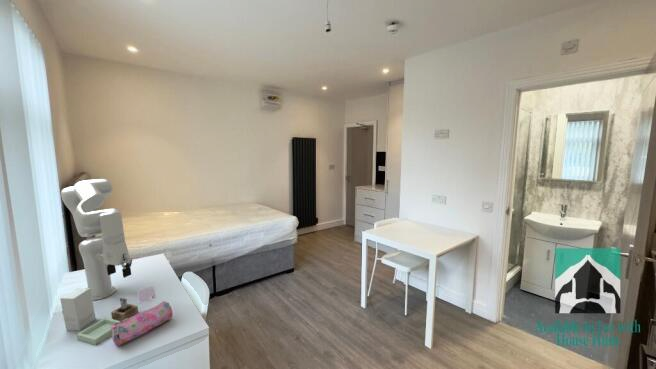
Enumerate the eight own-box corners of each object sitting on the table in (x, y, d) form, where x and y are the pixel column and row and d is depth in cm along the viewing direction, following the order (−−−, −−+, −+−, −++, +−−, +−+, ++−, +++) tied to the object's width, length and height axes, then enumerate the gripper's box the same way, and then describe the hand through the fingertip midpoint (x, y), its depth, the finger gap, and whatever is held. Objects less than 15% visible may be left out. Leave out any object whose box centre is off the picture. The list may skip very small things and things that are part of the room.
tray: (77, 339, 109) (76, 334, 108) (106, 322, 119) (105, 317, 119) (95, 345, 106) (94, 339, 105) (124, 327, 116) (123, 321, 116)
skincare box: (83, 318, 123) (77, 287, 120) (97, 318, 122) (91, 287, 120) (65, 331, 114) (58, 297, 112) (79, 331, 114) (73, 297, 112)
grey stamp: (118, 317, 123) (116, 300, 121) (126, 312, 126) (124, 296, 125) (124, 318, 122) (121, 301, 120) (132, 314, 125) (129, 297, 124)
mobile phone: (153, 285, 149) (156, 297, 137) (153, 287, 149) (156, 299, 137) (137, 290, 144) (138, 303, 133) (137, 292, 145) (138, 304, 133)
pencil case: (116, 352, 102) (113, 330, 101) (109, 342, 107) (106, 321, 106) (175, 321, 119) (173, 303, 118) (166, 314, 124) (164, 296, 123)
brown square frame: (112, 319, 122) (111, 312, 121) (127, 310, 128) (126, 303, 128) (123, 321, 119) (122, 314, 119) (138, 312, 126) (137, 305, 126)
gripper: (91, 240, 117) (97, 276, 120) (119, 243, 112) (125, 281, 114) (109, 234, 124) (114, 269, 127) (136, 237, 119) (141, 273, 122)
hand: (119, 274), depth 121 cm, fingers open, 9 cm apart
